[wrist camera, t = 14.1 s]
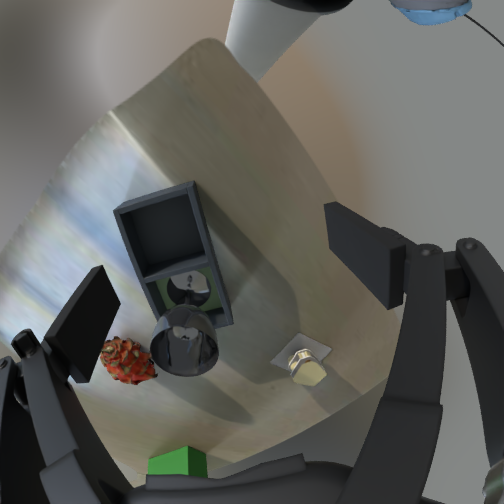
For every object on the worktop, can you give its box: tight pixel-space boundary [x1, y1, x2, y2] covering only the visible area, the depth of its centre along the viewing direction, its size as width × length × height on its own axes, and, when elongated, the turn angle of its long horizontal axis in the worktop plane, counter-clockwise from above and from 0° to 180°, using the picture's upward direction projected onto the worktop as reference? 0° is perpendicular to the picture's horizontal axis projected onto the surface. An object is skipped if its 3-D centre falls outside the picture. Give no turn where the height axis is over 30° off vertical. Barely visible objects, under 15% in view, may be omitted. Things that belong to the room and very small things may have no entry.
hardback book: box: [148, 446, 208, 478], centre depth 53 cm, size 18×7×24 cm, turn 126°
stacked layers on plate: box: [270, 332, 332, 386], centre depth 51 cm, size 10×9×6 cm
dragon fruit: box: [100, 336, 160, 385], centre depth 44 cm, size 8×8×12 cm
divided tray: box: [113, 181, 234, 329], centre depth 40 cm, size 11×21×5 cm, turn 13°
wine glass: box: [150, 270, 219, 377], centre depth 37 cm, size 8×8×15 cm
